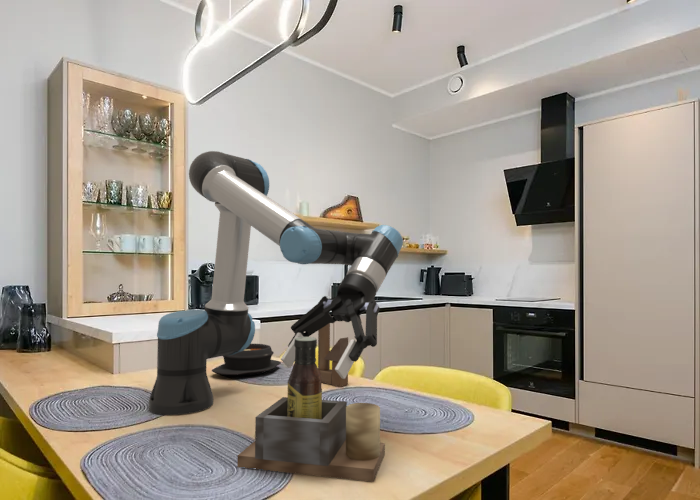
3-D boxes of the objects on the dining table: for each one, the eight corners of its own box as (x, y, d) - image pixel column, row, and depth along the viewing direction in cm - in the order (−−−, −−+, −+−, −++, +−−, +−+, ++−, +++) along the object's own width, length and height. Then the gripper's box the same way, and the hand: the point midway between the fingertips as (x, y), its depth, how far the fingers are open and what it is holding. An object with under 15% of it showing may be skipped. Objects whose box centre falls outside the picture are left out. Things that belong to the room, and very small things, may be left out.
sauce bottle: (287, 441, 89) (289, 335, 90) (321, 440, 90) (322, 335, 90) (285, 455, 83) (287, 340, 83) (321, 454, 83) (322, 340, 84)
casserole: (240, 383, 142) (240, 355, 142) (198, 375, 152) (198, 349, 152) (293, 369, 163) (293, 344, 163) (253, 363, 173) (254, 339, 173)
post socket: (236, 468, 82) (236, 409, 82) (265, 441, 95) (266, 390, 95) (373, 483, 76) (373, 420, 77) (385, 452, 89) (385, 398, 90)
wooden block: (339, 387, 138) (340, 325, 138) (314, 381, 145) (315, 322, 146) (348, 385, 140) (348, 324, 141) (323, 379, 148) (324, 321, 148)
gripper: (419, 299, 94) (375, 391, 81) (324, 293, 109) (275, 370, 97) (405, 272, 90) (356, 365, 77) (309, 270, 105) (255, 348, 93)
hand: (311, 368), depth 87 cm, fingers open, 13 cm apart
